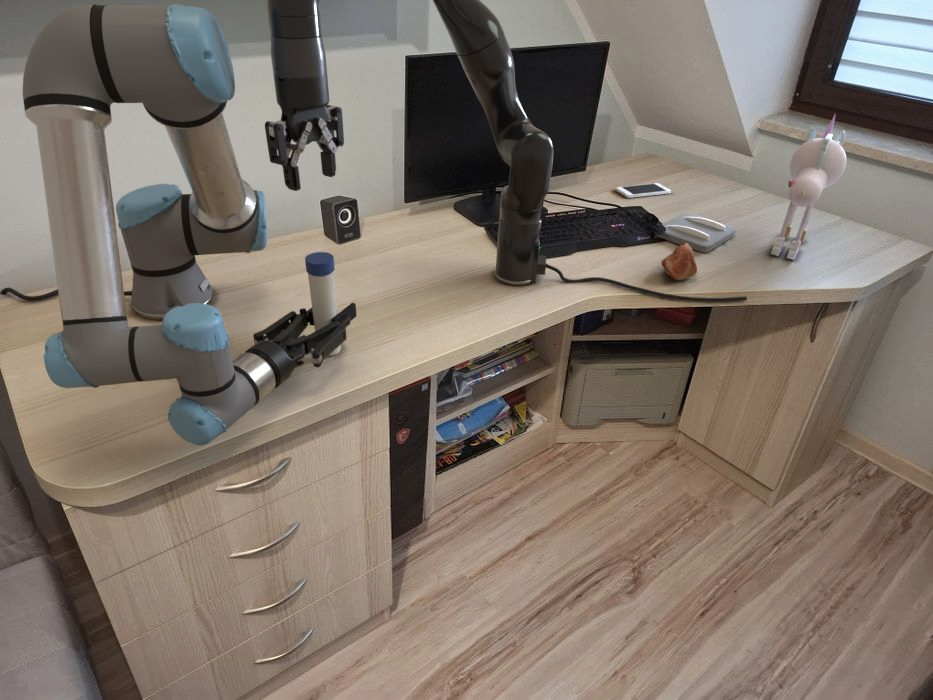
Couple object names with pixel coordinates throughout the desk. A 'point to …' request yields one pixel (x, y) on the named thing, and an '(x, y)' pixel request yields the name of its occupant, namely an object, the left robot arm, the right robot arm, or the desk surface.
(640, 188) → the smartphone
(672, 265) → the brown lumpy piece
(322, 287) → the bottle
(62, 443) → the desk surface
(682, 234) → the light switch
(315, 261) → the lid
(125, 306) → the left robot arm
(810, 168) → the toy
